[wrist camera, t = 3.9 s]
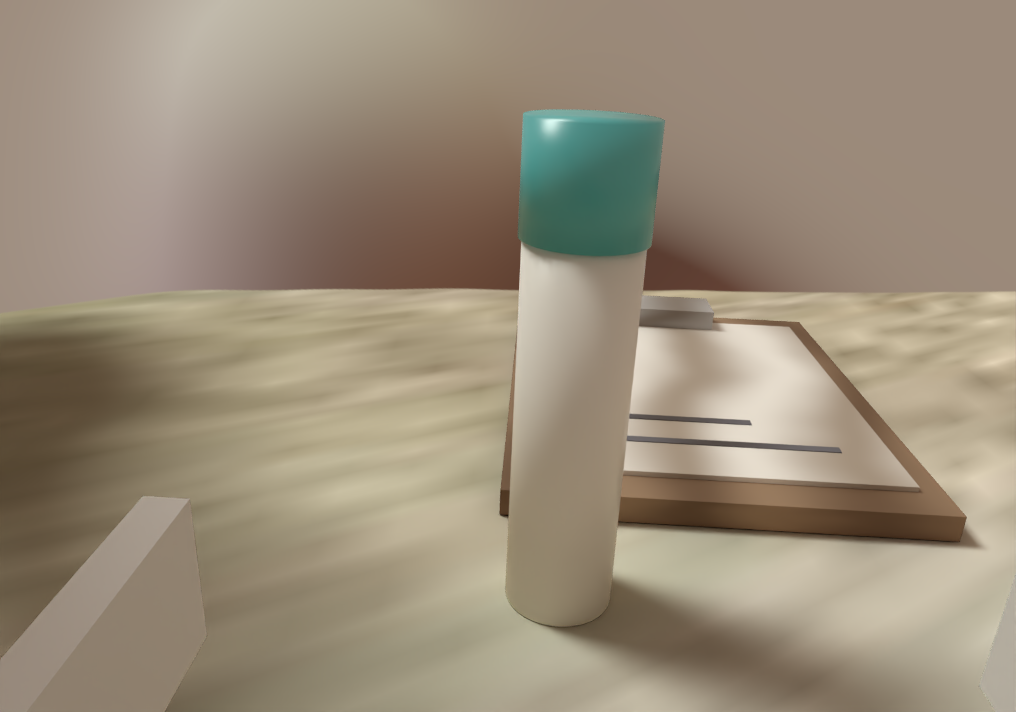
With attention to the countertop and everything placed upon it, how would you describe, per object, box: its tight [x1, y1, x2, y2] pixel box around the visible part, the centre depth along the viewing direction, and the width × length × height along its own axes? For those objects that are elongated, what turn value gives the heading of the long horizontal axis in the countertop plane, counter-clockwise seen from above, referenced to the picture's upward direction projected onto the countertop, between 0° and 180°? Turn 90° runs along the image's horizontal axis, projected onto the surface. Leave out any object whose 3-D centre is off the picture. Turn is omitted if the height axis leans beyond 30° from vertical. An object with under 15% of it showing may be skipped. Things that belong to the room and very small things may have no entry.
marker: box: [505, 110, 665, 627], centre depth 22 cm, size 3×3×14 cm
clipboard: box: [500, 296, 967, 542], centre depth 37 cm, size 16×20×2 cm
